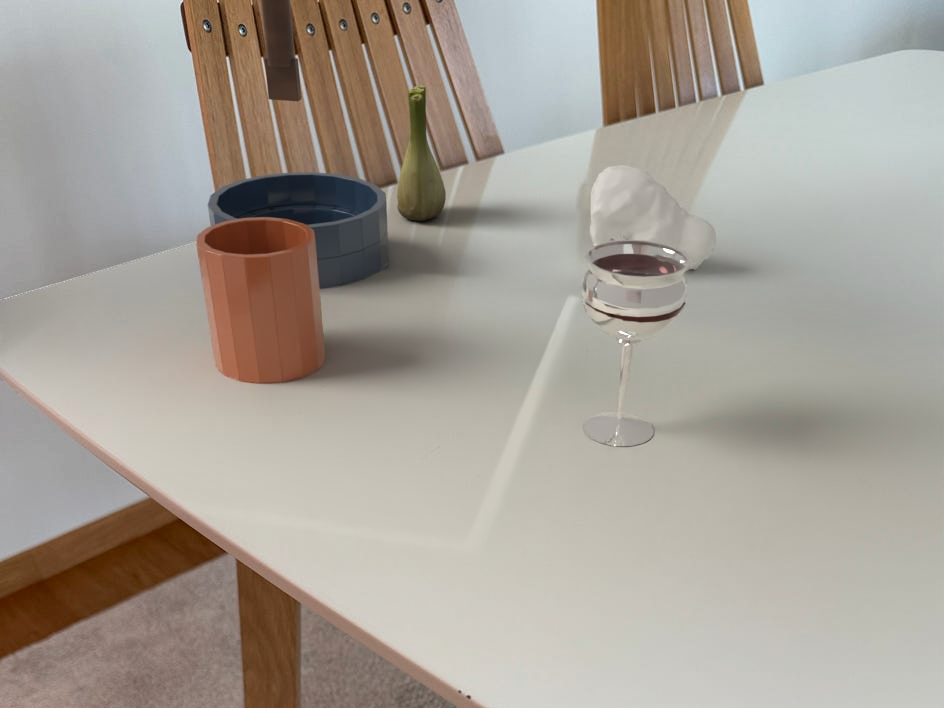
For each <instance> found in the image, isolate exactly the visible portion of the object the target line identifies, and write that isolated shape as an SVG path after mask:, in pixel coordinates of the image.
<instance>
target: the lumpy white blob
mask: <svg viewBox="0 0 944 708" xmlns="http://www.w3.org/2000/svg"><path fill="white" fill-rule="evenodd" d="M589 235H590V238H591V241H592V244H593V246H595V245H598V244H600V243H603V242H609V241H615V240H616V239H614V238H615V237H622V238H623V239H624V240H644V241H652V242H657V243H663V244H666V245H669V246H672V247H675V248H677V249H679V250H681V251H683V252H684V253H686V254H687V256H688V257H689V258H690V266H689V267H688V268H687V269H686V271H685V272H687V271H689V270H693V271H696V270H697V269H698V268H699V267H700V266H701V264H702V263H703V262H704V261H705V260H707V259H708V258H710V257H711V256H712V254H713V253H714V251H715V247H716V243H717V234H716V230H715V228H714V227H713V225H712V223H710V222H709V221H708V220H706V219H704V218H701V217H700V216H696V215H692V214H690V213H689V212H688V211H687V210H686V209H685V208H683V207H681V206H680V204H679V202H678V201H677V199H676V198H675V197H673V196H672V195H671V194H670V193H669V192H668V190H667V188H666V187H665V186H664V185H662V184H661V183H660V182H658V181H657V180H656V179H655V178H654V177H653V176H652V175H651V174H650V173H649V172H647V171H645V170H643V169H641V168H638V167H635V166H632V165H626V164H625V165H624V164H619V165H612V166H610V165H609V166H608V167H606V168H605V169H604V170H602V171H601V172H600V173H599V174H598V175H597V178H596V179H595V181H594V183H593V186H592V188H591V190H590V225H589Z"/></svg>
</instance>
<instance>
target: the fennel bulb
mask: <svg viewBox="0 0 944 708" xmlns="http://www.w3.org/2000/svg"><path fill="white" fill-rule="evenodd" d="M426 95H427V86H425V85H416V86H413V88H411V89H409V91H408V92H407V98H408V107H409V108H408V112H409V125H410V127H409V128H410V129H409V130H410V133H409V140H408V144H407V148H406V151H405V154H404V158H403V162H402V165H401V169H400V174H399V178H398V182H397V183H398V184H397V194H396V198H397V207H396V208H397V211H398V213H399V214H400V215H401V217H402V218H404V219H406V220H411V221H415V222H424V221H427V220H431V219H433V218H435V217H438V216H439V215H440V214H441V213H442V212H443V210H444V207H445V204H446V200H447V199H446V195H447V193H446V187H445V184H444V180H443V178H442V177H443V176H442V174H441V172H440V169H439V167H438V164H437V162H436V160H435V157H434V155H433V153H432V150H431V147H430V145H429V142H428V137H427V103H426V102H427V97H426Z"/></svg>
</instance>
